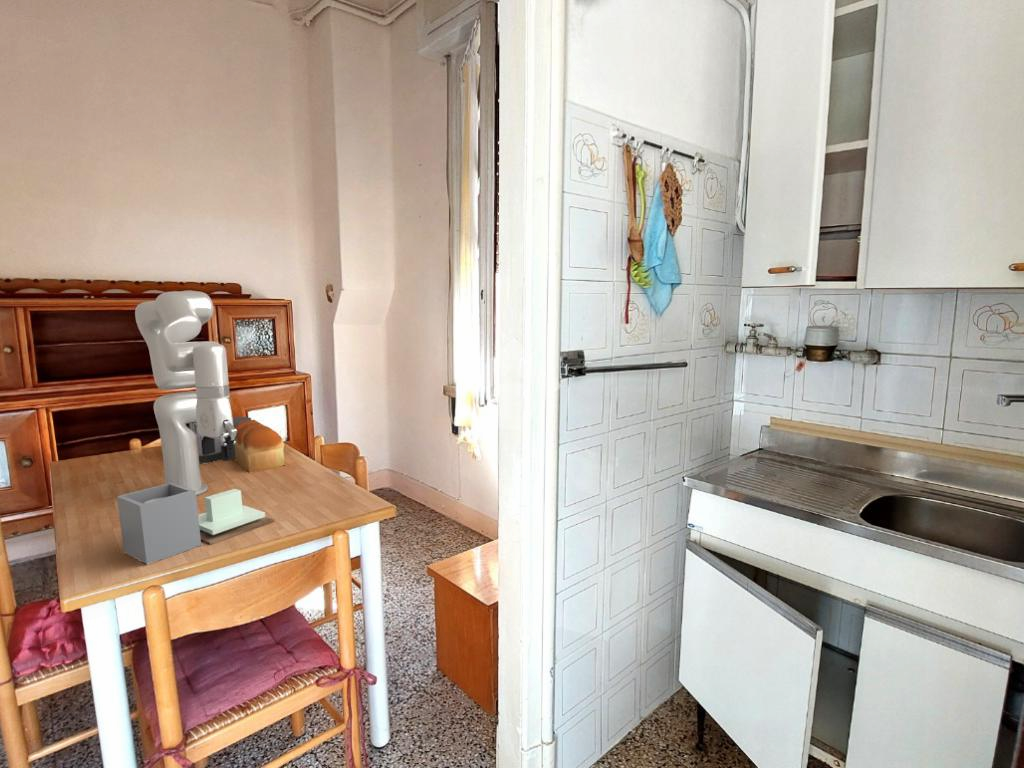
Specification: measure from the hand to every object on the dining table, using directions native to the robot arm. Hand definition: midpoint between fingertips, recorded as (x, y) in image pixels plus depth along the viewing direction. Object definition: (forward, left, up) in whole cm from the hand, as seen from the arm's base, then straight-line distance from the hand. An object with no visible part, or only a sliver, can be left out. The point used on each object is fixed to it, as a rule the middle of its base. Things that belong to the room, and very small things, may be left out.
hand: (218, 456), depth 144 cm
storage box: (+2, -16, -19) cm, 25 cm away
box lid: (0, 0, -18) cm, 18 cm away
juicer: (-74, +38, -19) cm, 86 cm away
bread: (-50, +39, -19) cm, 66 cm away
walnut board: (+1, 0, -19) cm, 19 cm away
